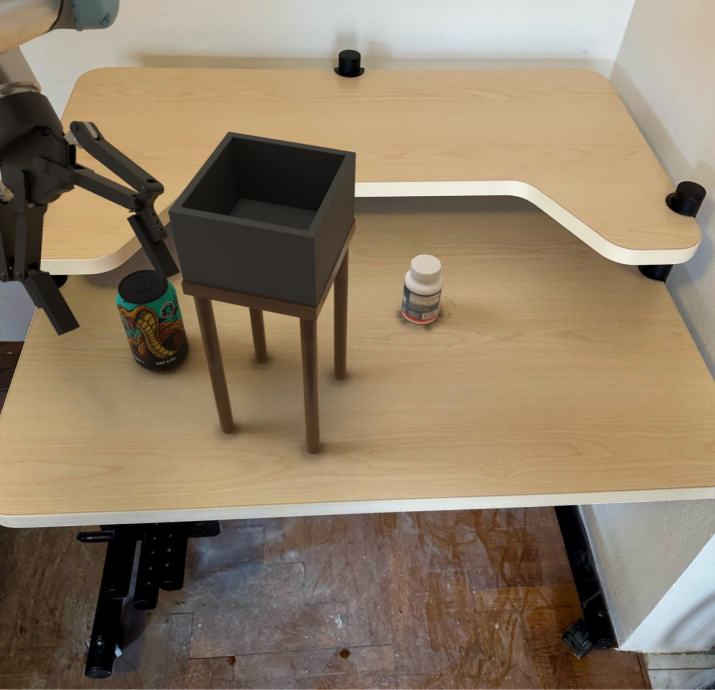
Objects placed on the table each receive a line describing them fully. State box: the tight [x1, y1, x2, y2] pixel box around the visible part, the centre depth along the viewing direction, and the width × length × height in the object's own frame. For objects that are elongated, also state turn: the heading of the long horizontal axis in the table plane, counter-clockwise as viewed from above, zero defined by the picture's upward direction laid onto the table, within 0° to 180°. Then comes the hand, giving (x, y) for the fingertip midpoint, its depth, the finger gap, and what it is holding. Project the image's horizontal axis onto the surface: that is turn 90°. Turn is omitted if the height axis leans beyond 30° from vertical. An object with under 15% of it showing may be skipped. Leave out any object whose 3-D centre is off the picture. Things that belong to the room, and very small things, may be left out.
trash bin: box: [167, 131, 357, 307], centre depth 62 cm, size 13×13×8 cm
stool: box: [180, 217, 357, 455], centre depth 74 cm, size 14×13×24 cm
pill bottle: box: [401, 254, 444, 325], centre depth 91 cm, size 5×5×9 cm
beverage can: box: [115, 269, 189, 371], centre depth 83 cm, size 7×7×12 cm
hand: (118, 305), depth 67 cm, fingers open, 13 cm apart
